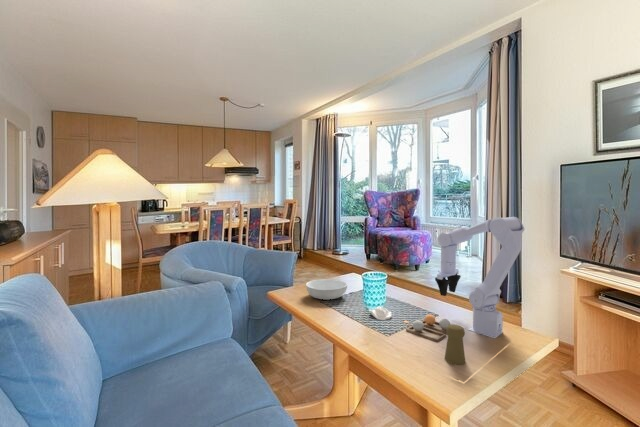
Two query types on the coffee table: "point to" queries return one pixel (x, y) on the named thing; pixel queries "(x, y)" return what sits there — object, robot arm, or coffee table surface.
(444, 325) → the grey ball
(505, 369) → the coffee table surface
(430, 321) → the ball terracotta
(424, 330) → the trough
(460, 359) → the olive knobbed tapered post
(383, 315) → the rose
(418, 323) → the grey ball
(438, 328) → the trough
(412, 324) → the card
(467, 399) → the coffee table surface
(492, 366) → the coffee table surface
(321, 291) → the serving bowl
